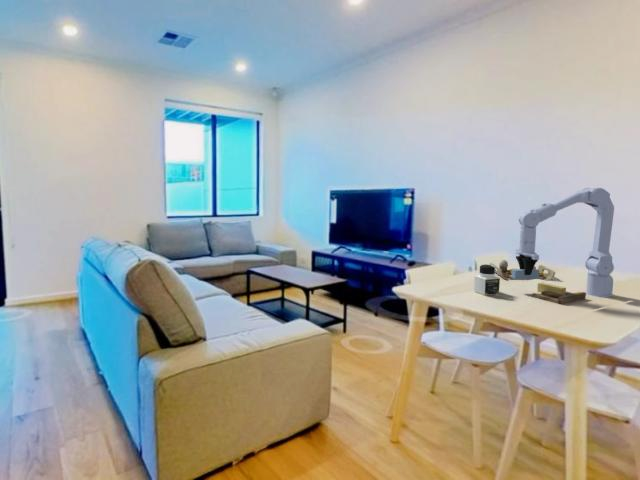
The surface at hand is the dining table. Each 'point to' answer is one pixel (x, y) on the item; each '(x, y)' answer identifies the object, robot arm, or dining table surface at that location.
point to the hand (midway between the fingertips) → (525, 273)
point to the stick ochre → (551, 288)
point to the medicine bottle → (486, 281)
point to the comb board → (560, 297)
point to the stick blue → (521, 274)
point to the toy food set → (508, 273)
